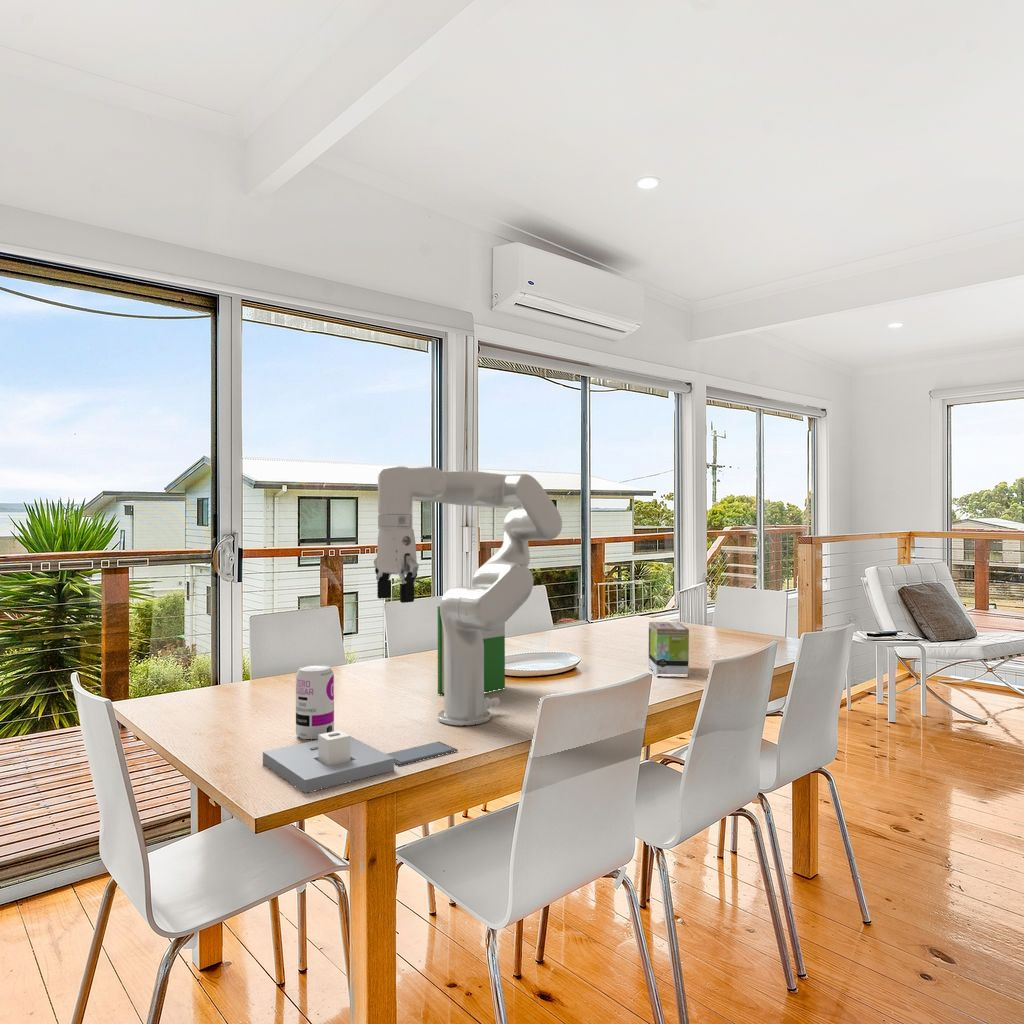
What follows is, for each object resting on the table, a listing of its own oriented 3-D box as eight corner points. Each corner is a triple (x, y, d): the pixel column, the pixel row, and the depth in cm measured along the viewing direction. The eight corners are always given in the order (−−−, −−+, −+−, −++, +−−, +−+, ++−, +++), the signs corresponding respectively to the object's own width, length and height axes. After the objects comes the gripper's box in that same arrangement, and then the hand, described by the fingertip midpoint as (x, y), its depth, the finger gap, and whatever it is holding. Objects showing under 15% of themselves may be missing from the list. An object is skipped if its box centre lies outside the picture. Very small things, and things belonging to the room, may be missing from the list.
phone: (439, 746, 159) (439, 740, 159) (457, 754, 153) (457, 749, 153) (381, 759, 150) (381, 754, 150) (398, 769, 145) (398, 763, 145)
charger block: (340, 765, 145) (339, 729, 145) (350, 772, 142) (350, 734, 141) (318, 770, 142) (318, 733, 142) (328, 777, 139) (328, 739, 139)
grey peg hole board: (346, 745, 158) (346, 733, 158) (394, 770, 142) (394, 757, 142) (262, 763, 146) (262, 750, 146) (305, 793, 131) (305, 779, 131)
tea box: (689, 678, 220) (689, 628, 220) (655, 677, 220) (655, 628, 220) (679, 667, 235) (679, 620, 235) (647, 667, 235) (647, 620, 235)
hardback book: (454, 700, 195) (454, 609, 195) (437, 694, 200) (437, 606, 200) (504, 689, 207) (504, 603, 206) (488, 684, 212) (487, 601, 212)
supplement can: (337, 729, 169) (337, 663, 169) (329, 740, 161) (329, 671, 161) (301, 729, 169) (301, 664, 169) (291, 741, 160) (291, 672, 160)
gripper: (431, 522, 159) (431, 602, 159) (390, 521, 172) (390, 595, 172) (400, 523, 154) (401, 605, 154) (361, 522, 167) (361, 597, 167)
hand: (395, 600), depth 163 cm, fingers open, 9 cm apart
